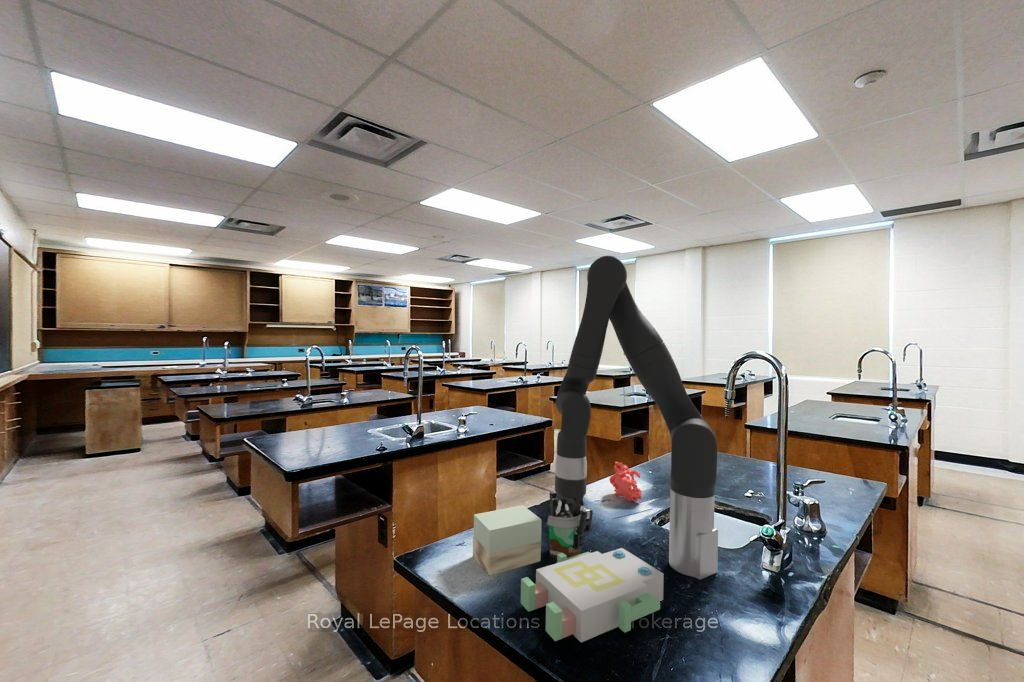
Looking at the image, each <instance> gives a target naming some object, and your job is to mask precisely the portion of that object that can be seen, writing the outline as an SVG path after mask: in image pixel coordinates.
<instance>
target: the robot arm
mask: <svg viewBox="0 0 1024 682" xmlns="http://www.w3.org/2000/svg"><path fill="white" fill-rule="evenodd" d="M586 277H587V278H586V280H587V281H586V282H587V285H586V286H587V287H586V296H585V297H586V298H585V302H584V308H583V313H582V316H581V320H580V323H579V327H578V330H577V333H576V336H575V339H574V342H573V347H572V350H571V353H570V356H569V360H568V364H567V370H566V372H565V375H564V376H563V378H562V381H561V384H560V386H559V388H558V391H557V394H556V398H555V407H556V409H557V411H558V412H559V414H560V415H561V425H560V430H559V431H558V434H557V436H556V456H555V463H554V466H555V467H554V470H555V471H554V491H551V492H549V507H550V516H555V515H557V514H558V513H559V512H560V511H563V512H564V513H565V514H566V515H568V518H570V517H576V516H580V523H579V528H578V529H577V526H576V527H574V542H573V549H574V550H579V549H581V550H582V548H583V546H584V545H583V543H584V536H585V535H588V534H590V533H591V527H592V522H593V521H592V520H593V513H594V512H593V509H592V508H586V506H585V504H584V496H585V495H587V482H588V481H587V477H588V476H587V472H588V462H587V435H588V432H589V428H590V422H591V416H592V412H591V411H592V406H591V402H590V399H589V398H588V396H587V395H586V394H587V391H588V389H589V386H590V384H591V383H592V382H594V381H595V379H596V376H597V373H598V371H599V365H600V362H601V359H602V355H603V351H604V346H605V341H606V335H607V329H608V325H609V322H610V323H611V325H612V328H613V330H614V333H615V336H616V338H617V340H618V342H619V343H618V344H619V345H620V347H621V349H622V352H623V354H624V356H625V358H626V360H627V361H628V364H629V365H630V368H631V369H632V371H633V373H634V374H635V376H636V378H637V379H638V382H639V383H640V384H641V385H642V387H643V388H644V389H645V391H646V393H647V394H648V395H649V396H650V398H651V399H652V401H654V402H655V404H656V406H657V408H658V409H659V411H660V414H661V415H662V418H663V420H664V422H665V425H666V427H667V430H668V433H669V435H670V439H671V440H670V441H671V446H670V447H671V452H670V453H671V454H670V455H671V457H670V477H669V478H670V479H669V480H670V484H669V485H670V487H669V489H670V490H669V492H670V493H669V530H668V531H669V532H668V533H669V537H668V538H669V539H668V540H669V541H668V543H669V544H668V545H669V546H668V550H669V551H668V563H669V566H670V567H671V568H672V569H673V570H674V571H676V572H678V573H680V574H682V575H685V576H688V577H692V578H696V579H698V580H703V579H705V578H708V577H709V576H712V575H714V574H716V573H717V574H718V564H719V563H718V557H719V556H718V555H719V553H718V551H719V530H718V529H717V528H715V497H716V496H715V492H716V484H717V476H718V475H717V474H718V441H717V437H716V435H715V433H714V432H713V430H712V428H711V427H710V425H709V424H708V423H707V421H706V420H705V419H704V418H703V416H702V415H701V413H700V412H699V410H698V409H697V407H696V406H695V404H693V401H692V400H691V398H690V397H689V395H688V393H687V391H686V388H685V386H684V383H683V380H682V378H681V375H680V372H679V369H678V368H677V364H676V363H675V361H674V359H673V356H672V355H671V353H670V350H669V349H668V348H667V345H666V344H665V342H664V340H663V338H662V337H661V335H660V334H659V333H658V331H657V330H656V328H655V327H654V326H653V324H651V322H650V321H649V319H647V317H646V316H645V315H644V314H643V312H642V311H641V310H640V308H639V307H638V305H637V303H636V301H635V299H634V297H633V295H632V292H631V290H630V288H629V285H628V283H627V278H628V272H627V267H626V266H625V264H624V262H622V260H621V259H619V257H616V256H614V255H604V256H600V257H598V258H597V259H595V260H593V262H592V264H591V265H590V266H589V267H588V271H587V275H586ZM555 508H556V509H555Z"/></svg>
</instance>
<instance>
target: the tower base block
mask: <svg viewBox="0 0 1024 682" xmlns="http://www.w3.org/2000/svg"><path fill="white" fill-rule="evenodd" d="M541 548H542V540H541V541H540V542H536V543H531V544H527V545H523V546H519V547H515V548H511V549H506V550H502V551H498V552H494V553H490V554H489V553H488V552H487V550H486V549H485V548H484V547H483V546H482V545H481V544H480V542H479V541H478V540H477V539H476V538H475V537H474V536H472V557H473V559H475V561H476V562H477V563H478V564H479V565H480V567H483V568H484V569H485V570H486V571H485V570H484V569H483V568H482V569H483V570H484V571H485V572H486V573H487V574H488V576H489V575H491V576H494V575H497V574H500V573H505V572H507V571H512V570H514V569H517V568H518V569H519V568H522V567H525V566H528V565H532V564H536V563H539V562H541V559H542V558H541V557H542V555H541V553H542V551H541V550H542V549H541ZM493 574H494V575H493Z"/></svg>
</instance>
